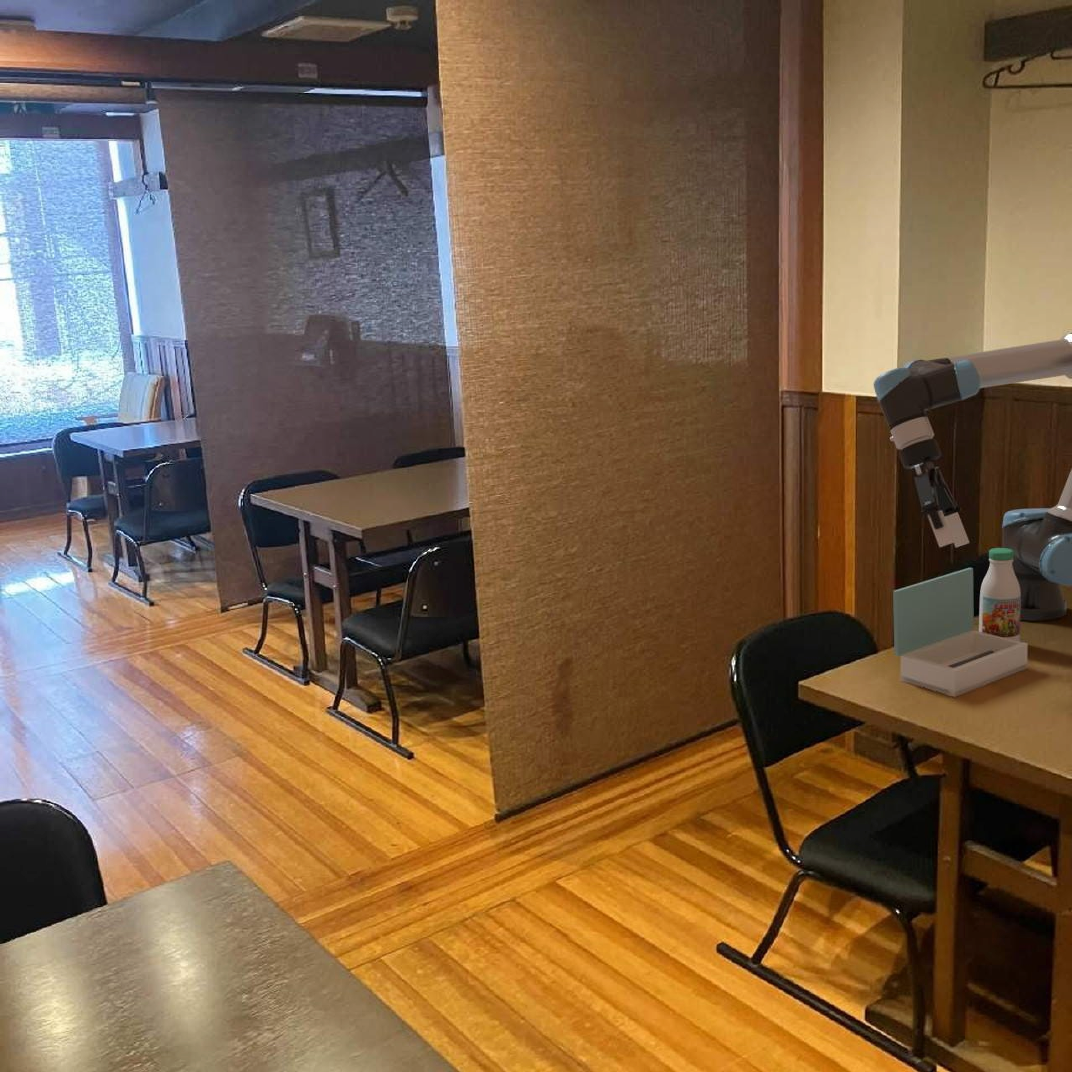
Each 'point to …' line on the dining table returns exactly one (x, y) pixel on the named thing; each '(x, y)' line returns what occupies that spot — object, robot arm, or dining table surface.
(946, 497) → the robot arm
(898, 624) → the cover
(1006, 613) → the milk bottle
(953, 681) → the white shallow box
